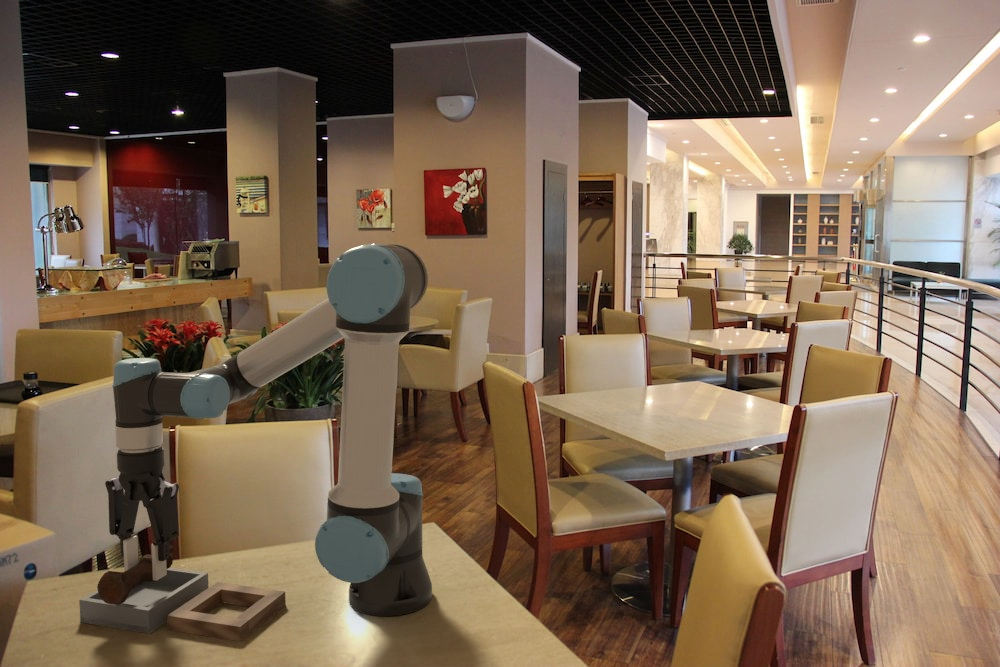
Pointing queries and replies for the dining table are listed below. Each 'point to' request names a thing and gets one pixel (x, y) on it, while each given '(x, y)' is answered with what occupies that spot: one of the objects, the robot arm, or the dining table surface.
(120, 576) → the bolt
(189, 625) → the rectangular frame
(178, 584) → the tray
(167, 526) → the robot arm
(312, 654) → the dining table surface
